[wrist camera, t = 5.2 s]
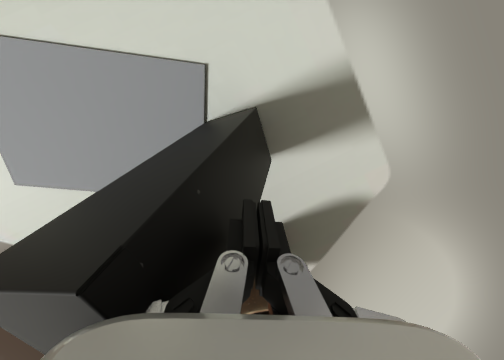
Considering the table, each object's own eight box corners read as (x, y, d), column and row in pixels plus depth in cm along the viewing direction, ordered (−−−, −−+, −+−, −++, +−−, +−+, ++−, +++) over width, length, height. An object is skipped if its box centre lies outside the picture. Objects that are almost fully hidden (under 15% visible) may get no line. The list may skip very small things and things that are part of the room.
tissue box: (257, 106, 26) (-215, 595, 2) (272, 160, 29) (157, 579, 6) (205, 121, 28) (-276, 425, 5) (224, 170, 32) (6, 486, 8)
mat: (-52, 29, 23) (-57, 28, 22) (205, 64, 25) (204, 64, 25) (17, 183, 31) (14, 184, 31) (203, 199, 34) (202, 200, 33)
